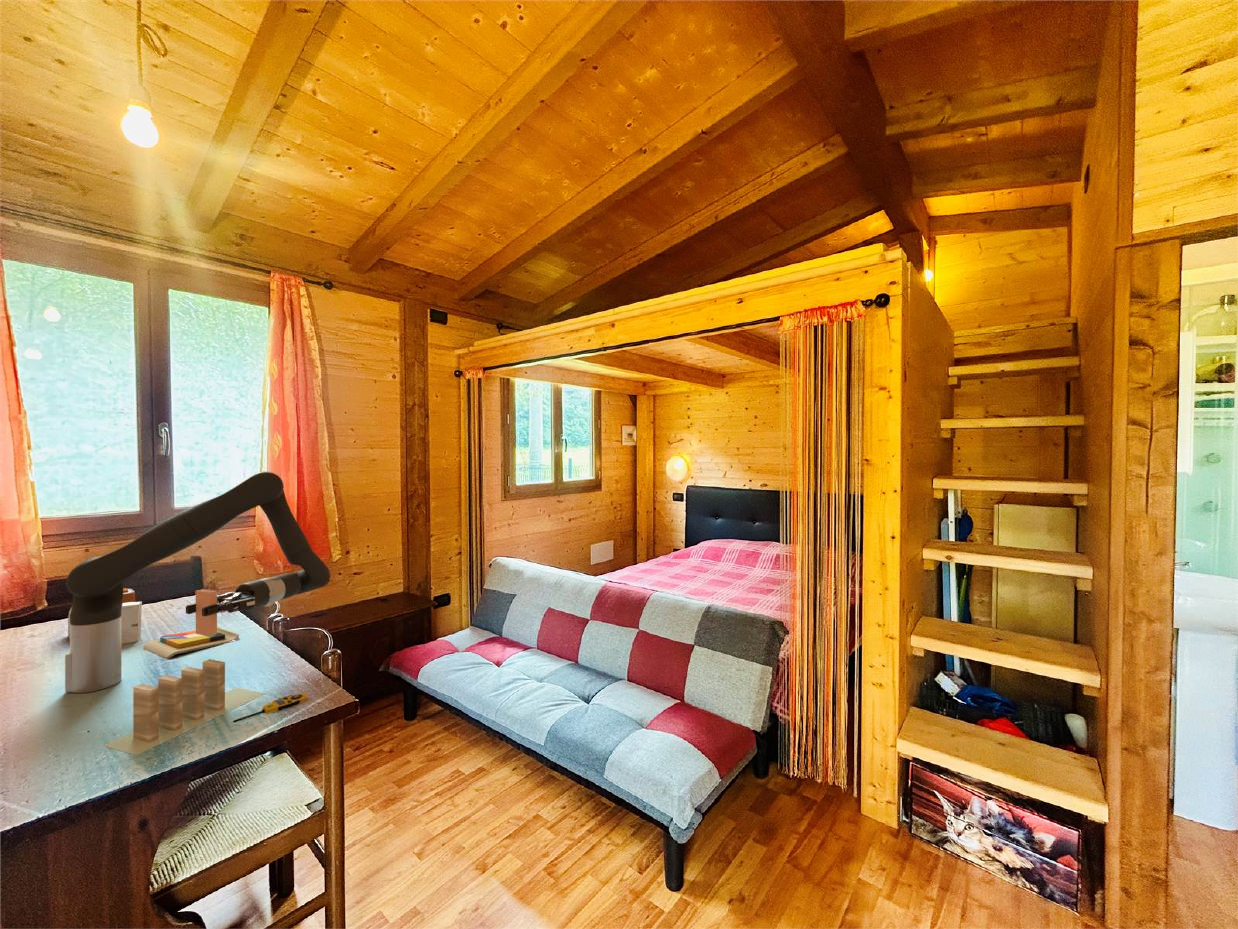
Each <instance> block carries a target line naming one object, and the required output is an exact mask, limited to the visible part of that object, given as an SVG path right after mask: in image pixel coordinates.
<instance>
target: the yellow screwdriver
mask: <svg viewBox="0 0 1238 929" xmlns="http://www.w3.org/2000/svg"><path fill="white" fill-rule="evenodd" d="M307 700H309V699H308V694H306V693H303V692H302V693H296V694H291V695H287V696H284V697H281V698H278V699H275V700H273V701H272V702H268V703H267V704H265V705H263V707H262V709H261V711H257V712H255V713H251V714H249V715H245V716H243V717H239V718H236V719H234V720H232V723H237V722H240V721H243V720H245V719H249V718H251V717H253V716H257V715H260V714H271V713H275V712H280V711H283V710H286V709H290V708H293V707H295V706H298V705H300V704H302V703H304V702H306V701H307Z"/></svg>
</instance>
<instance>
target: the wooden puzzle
mask: <svg viewBox="0 0 1238 929" xmlns="http://www.w3.org/2000/svg"><path fill="white" fill-rule="evenodd" d="M239 636H240V634H239V633H237V632H233V631H231V630H228V629H225V628H222V627H218V626H217V634H215V635H212V636H206V635H199V634H196V629H194V630H191V631H185V632H178V633H173V634H165V635H162V636H160V639H156V640H155V639H154V640H150V641H147V642H145V644H144V645H143V647H142V649H143V650H145V651H147V650H148V651H147V652H149V651H150V653H151V652H152V654H154V655H156V654H157V655H156V656H158V657H161V658H163V657H164V658H163V659H165V658H166V659H165V660H168V659H171V658H172V657H174V656H175V655H180V654H184V653H188V652H193V651H198V650H202V649H206V648H207V649H208V648H212V647H216V645H217V646H220V645H219V644H221V645H224V644H223V643H225V644H228V643H230V642H229V641H232V640H235V641H238V639H239ZM227 642H228V643H227ZM232 642H233V641H232Z"/></svg>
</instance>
